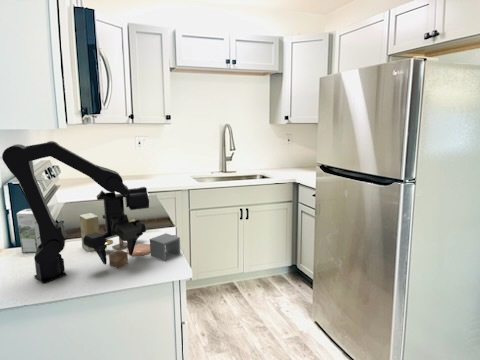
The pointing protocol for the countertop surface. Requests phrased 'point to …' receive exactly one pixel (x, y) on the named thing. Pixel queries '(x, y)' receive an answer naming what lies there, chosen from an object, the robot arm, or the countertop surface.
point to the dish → (140, 250)
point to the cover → (164, 245)
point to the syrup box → (28, 231)
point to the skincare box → (88, 227)
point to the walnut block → (118, 259)
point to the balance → (121, 244)
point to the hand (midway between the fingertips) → (118, 259)
